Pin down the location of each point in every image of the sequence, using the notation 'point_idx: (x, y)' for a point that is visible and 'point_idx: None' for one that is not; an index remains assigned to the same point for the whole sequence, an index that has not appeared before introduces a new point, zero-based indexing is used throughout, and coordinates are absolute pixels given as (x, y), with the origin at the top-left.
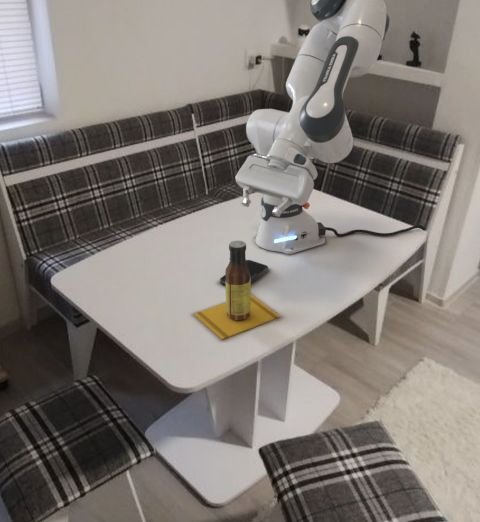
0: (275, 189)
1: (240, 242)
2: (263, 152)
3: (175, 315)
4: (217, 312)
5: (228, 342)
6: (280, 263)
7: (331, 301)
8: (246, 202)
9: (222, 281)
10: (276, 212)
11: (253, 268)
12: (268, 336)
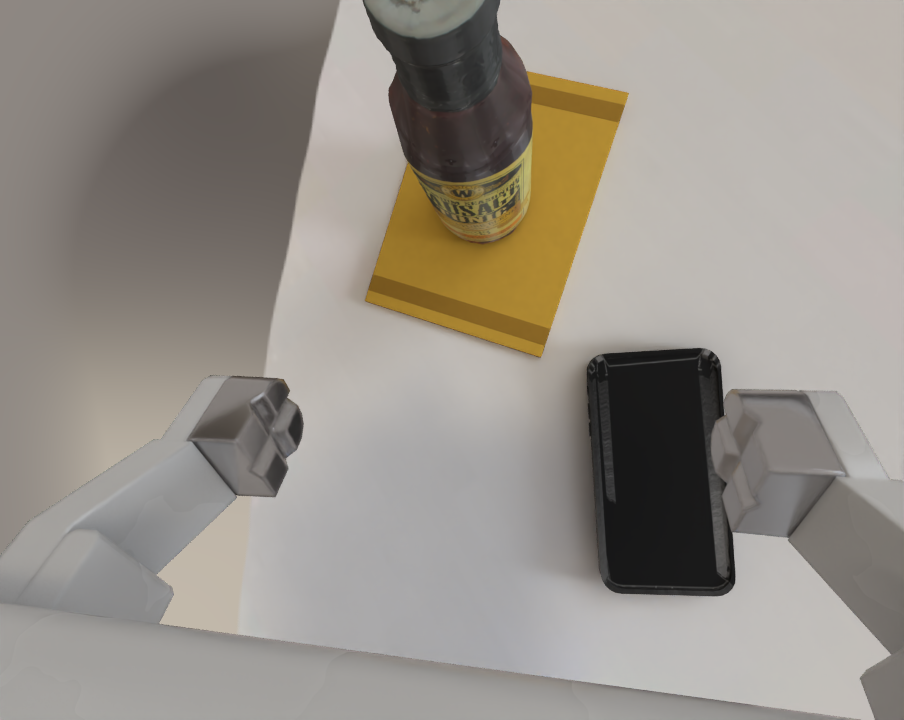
0: (154, 704)
1: (421, 1)
2: None
3: (687, 43)
4: (559, 163)
5: None
6: (596, 670)
7: (281, 506)
8: (740, 410)
9: (694, 348)
10: (213, 383)
11: (653, 535)
12: (336, 182)
